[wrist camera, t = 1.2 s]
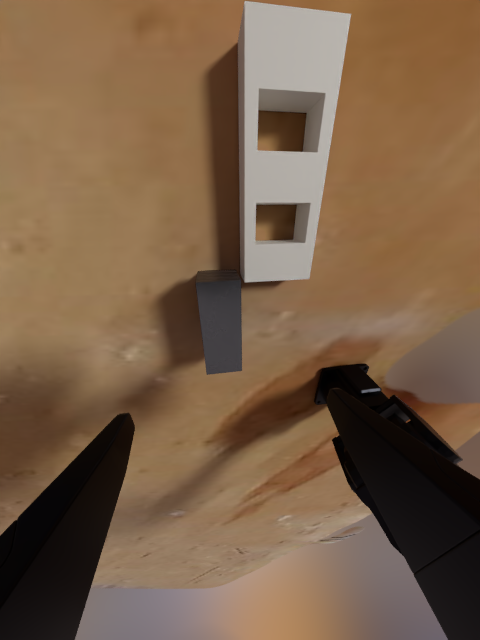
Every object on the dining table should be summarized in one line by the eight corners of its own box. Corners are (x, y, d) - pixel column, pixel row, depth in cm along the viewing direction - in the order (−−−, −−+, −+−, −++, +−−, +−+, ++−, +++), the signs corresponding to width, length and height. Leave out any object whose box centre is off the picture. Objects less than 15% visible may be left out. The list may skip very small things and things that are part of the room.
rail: (297, 271, 19) (309, 278, 17) (240, 274, 18) (244, 282, 16) (325, 50, 12) (350, 13, 10) (237, 41, 12) (244, 0, 9)
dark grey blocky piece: (234, 338, 21) (241, 370, 17) (207, 340, 21) (206, 374, 16) (232, 263, 18) (241, 280, 13) (198, 265, 17) (195, 282, 13)
